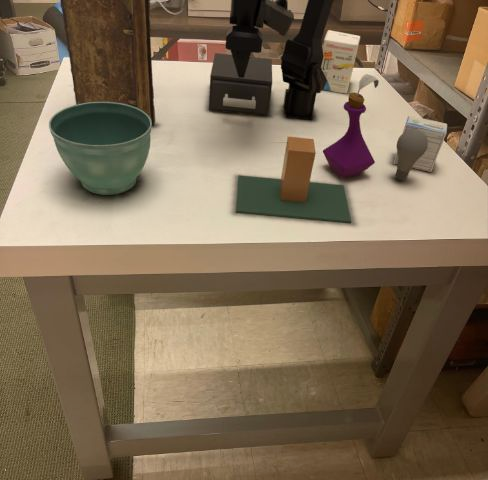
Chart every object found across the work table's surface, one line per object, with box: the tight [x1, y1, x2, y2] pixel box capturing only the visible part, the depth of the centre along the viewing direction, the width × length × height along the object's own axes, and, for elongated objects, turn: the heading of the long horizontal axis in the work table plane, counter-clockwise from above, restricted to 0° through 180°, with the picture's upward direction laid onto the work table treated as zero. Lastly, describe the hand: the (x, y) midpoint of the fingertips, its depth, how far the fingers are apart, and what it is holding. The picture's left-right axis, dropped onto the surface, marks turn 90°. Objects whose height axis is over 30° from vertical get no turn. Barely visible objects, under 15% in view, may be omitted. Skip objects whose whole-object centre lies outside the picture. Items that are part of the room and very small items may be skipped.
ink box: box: [321, 29, 361, 94], centre depth 126 cm, size 9×8×12 cm
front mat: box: [235, 174, 352, 224], centre depth 89 cm, size 20×12×1 cm, turn 88°
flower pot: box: [48, 102, 153, 196], centre depth 84 cm, size 16×16×11 cm
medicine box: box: [393, 115, 448, 173], centre depth 100 cm, size 8×4×9 cm, turn 71°
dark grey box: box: [208, 52, 273, 117], centre depth 115 cm, size 15×14×8 cm
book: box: [59, 0, 156, 126], centre depth 96 cm, size 17×7×25 cm, turn 62°
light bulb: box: [394, 129, 428, 181], centre depth 94 cm, size 6×6×10 cm
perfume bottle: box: [322, 73, 380, 179], centre depth 91 cm, size 8×8×18 cm
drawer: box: [212, 80, 269, 114], centre depth 112 cm, size 18×12×6 cm
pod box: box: [280, 136, 317, 203], centre depth 86 cm, size 4×5×10 cm
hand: (241, 76), depth 96 cm, fingers closed
